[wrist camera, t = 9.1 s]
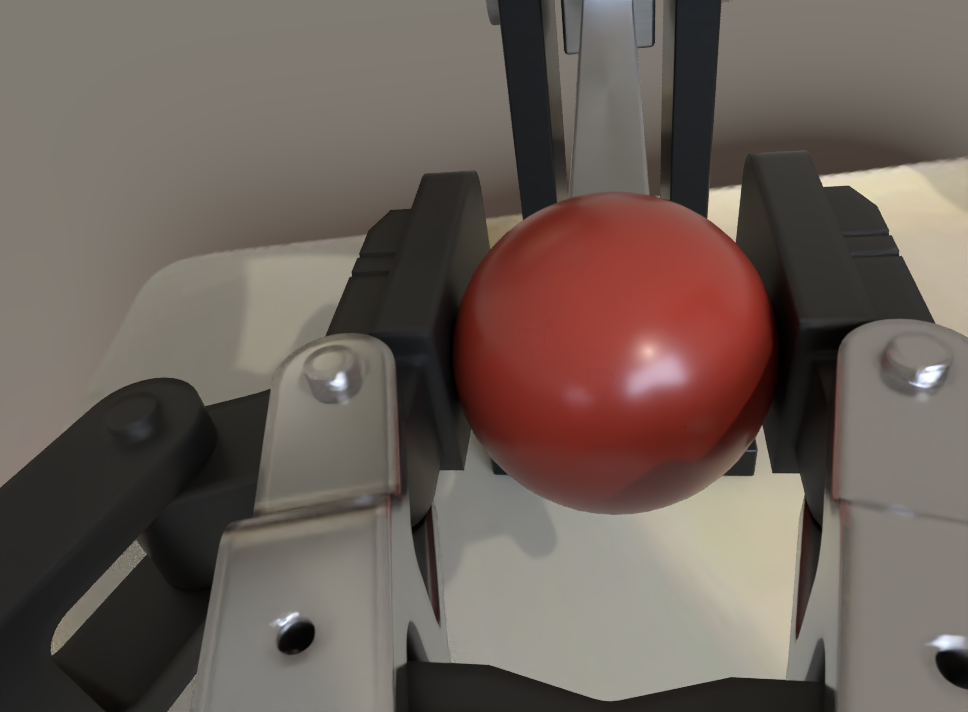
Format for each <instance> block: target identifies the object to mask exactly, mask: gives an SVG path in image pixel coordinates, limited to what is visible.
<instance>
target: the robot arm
mask: <svg viewBox="0 0 968 712" xmlns="http://www.w3.org/2000/svg"><path fill="white" fill-rule="evenodd" d="M736 244H737V245H738V246H739V247H740V249H741V250H742V251H743V252H744V254H745V255H746V256H747V257H748V259H749V260H750V261H751V263H752V264H753V266H754V267H755V269H756V271H757V272H758V274H759V276H760V278H761V280H762V282H763V283H764V285H765V287H766V290H767V292H768V295H769V298H770V301H771V304H772V307H773V310H774V313H775V316H776V323H777V329H778V337H779V346H780V350H779V367H778V380H777V383H776V387H775V391H774V395H773V399H772V402H771V406H770V409H769V411H768V414H767V416H766V418H765V420H764V422H763V424H762V425H763V429H764V434H765V439H766V444H767V449H768V454H769V459H770V463H771V468H772V473H800V476H801V480H802V484H803V488H804V492H805V495H804V500H803V504H802V508H801V512H800V517H799V526H798V540H797V553H796V567H795V580H794V593H793V607H792V620H791V633H790V646H789V657H788V666H787V673H786V680H775V679H755V678H736V677H730V678H725V679H721V680H716V681H711V682H706V683H701V684H697V685H692V686H687V687H682V688H677V689H673V690H668V691H663V692H658V693H653V694H648V695H644V696H639V697H634V698H629V699H624V700H619V701H601V700H597V699H593V698H590V697H586V696H583V695H580V694H577V693H574V692H571V691H568V690H565V689H562V688H559V687H556V686H552V685H549V684H546V683H543V682H540V681H537V680H534V679H531V678H528V677H525V676H521V675H518V674H515V673H512V672H509V671H506V670H503V669H500V668H497V667H494V666H490V665H479V664H459V663H451V657H450V651H449V644H448V636H447V624H446V613H445V601H444V589H443V577H442V566H441V554H440V542H439V530H438V518H437V511H436V506H435V503H434V495H435V490H436V485H437V480H438V475H439V470H464V467H465V461H466V455H467V449H468V443H469V437H470V432H471V427H470V425H469V423H468V420H467V418H466V416H465V414H464V412H463V409H462V406H461V403H460V400H459V396H458V392H457V389H456V385H455V379H454V371H453V359H452V349H453V335H454V327H455V322H456V318H457V313H458V309H459V306H460V303H461V300H462V298H463V295H464V293H465V290H466V288H467V285H468V283H469V281H470V279H471V278H472V276H473V274H474V272H475V271H476V269H477V268H478V266H479V264H480V263H481V261H482V260H483V258H484V257H485V256H486V255H487V253H488V252H489V251H490V246H489V239H488V232H487V226H486V219H485V212H484V205H483V199H482V193H481V186H480V181H479V177H478V174H477V172H476V171H459V172H443V173H428V174H424V175H423V177H422V179H421V183H420V185H419V188H418V191H417V194H416V197H415V199H414V202H413V205H412V208H411V209H402V210H390V211H389V212H388V213H387V214H386V215H385V216H384V217H383V218H382V219H381V220H380V221H378V222H377V223H376V224H375V225H374V226H373V227H372V228H371V229H370V230H369V231H368V233H367V236H366V238H365V241H364V243H363V246H362V248H361V250H360V253H359V255H360V258H357V260H356V263H355V265H354V268H353V270H352V277H349V280H348V282H347V285H346V287H345V290H344V292H343V294H342V297H341V299H340V302H339V304H338V307H337V309H336V312H335V314H334V316H333V319H332V321H331V324H330V326H329V329H328V331H327V334H326V336H325V337H323V338H320V339H317V340H314V341H312V342H310V343H308V344H306V345H304V346H302V347H301V348H299V349H297V350H296V351H295V352H293V353H292V354H291V355H289V356H288V357H287V358H286V359H285V360H284V361H283V362H282V364H281V365H280V366H279V368H278V369H277V371H276V373H275V375H274V377H273V380H272V384H271V389H268V390H266V391H263V392H259V393H256V394H252V395H248V396H245V397H241V398H237V399H233V400H229V401H225V402H221V403H217V404H213V405H209V406H204V404H203V402H202V400H201V398H200V396H199V394H198V392H197V391H196V390H195V388H194V387H193V386H191V385H190V384H189V383H187V382H185V381H182V380H179V379H175V378H153V379H148V380H143V381H140V382H136V383H133V384H130V385H128V386H126V387H123V388H121V389H119V390H117V391H115V392H113V393H111V394H110V395H108V396H107V397H105V398H104V399H102V400H101V401H100V402H98V403H97V404H96V405H95V406H93V407H92V408H91V409H90V410H89V411H88V412H86V413H85V414H84V415H83V416H82V417H81V418H80V419H78V420H77V421H76V422H75V423H74V424H73V425H72V426H70V427H69V428H68V429H67V430H66V431H65V432H64V433H62V434H61V435H60V436H59V437H58V438H57V439H56V440H54V441H53V442H52V443H51V444H50V445H49V446H48V447H47V448H45V449H44V450H43V451H42V452H41V453H40V454H39V455H37V456H36V457H35V458H34V459H33V460H32V461H30V462H29V463H28V464H27V465H26V466H25V467H24V468H22V469H21V470H20V471H19V472H18V473H17V474H16V475H15V476H13V477H12V478H11V479H10V480H9V481H8V482H6V483H5V484H4V485H3V486H2V487H1V488H0V712H167V711H168V710H169V709H170V707H171V706H172V705H173V703H174V702H175V701H176V699H177V698H178V697H179V696H180V694H181V693H182V692H183V690H184V689H185V688H186V686H187V685H188V684H189V683H190V681H191V680H192V679H193V677H194V676H195V675H196V673H197V675H196V681H195V686H194V692H193V698H192V703H191V709H190V712H968V338H967V337H966V336H964V335H962V334H960V333H958V332H956V331H954V330H952V329H949V328H946V327H943V326H941V325H938V324H935V322H934V320H933V318H932V316H931V314H930V312H929V310H928V308H927V306H926V304H925V302H924V300H923V298H922V296H921V294H920V292H919V290H918V287H917V285H916V283H915V281H914V279H913V277H912V275H911V273H910V271H909V269H908V267H907V265H906V263H905V261H904V259H903V257H902V256H899V249H898V247H897V245H896V243H895V241H894V239H893V237H892V235H891V236H889V229H888V227H887V225H886V223H885V221H884V219H883V217H882V215H881V213H880V211H879V209H878V207H877V206H876V205H875V204H874V203H872V202H871V201H869V200H868V199H867V198H865V197H864V196H863V195H861V194H860V193H858V192H857V191H856V190H854V189H853V188H852V187H850V186H834V187H823V186H822V183H821V181H820V178H819V176H818V174H817V171H816V169H815V166H814V164H813V162H812V159H811V157H810V155H809V153H808V151H806V150H804V151H788V152H772V153H756V154H748V155H747V157H746V160H745V164H744V169H743V178H742V188H741V198H740V207H739V217H738V226H737V236H736ZM135 540H137V541H138V543H139V544H140V546H141V547H142V548H143V550H144V551H145V552H146V554H147V555H146V556H145V557H144V558H143V559H142V560H141V561H140V563H139V564H138V565H137V566H136V567H135V568H134V569H133V570H132V571H131V572H130V574H129V575H128V576H127V577H126V578H125V579H124V580H123V581H122V582H121V583H120V584H119V586H118V587H117V588H116V589H115V590H114V591H113V592H112V593H111V594H110V595H109V596H108V598H107V599H106V600H105V601H104V602H103V603H102V604H101V605H100V606H99V607H98V609H97V610H96V611H95V612H94V613H93V614H92V615H91V616H90V617H89V618H88V619H87V621H86V622H85V623H84V624H83V625H82V626H81V627H80V628H79V629H78V630H77V631H76V633H75V634H74V635H73V636H72V637H71V638H70V639H69V640H68V641H67V642H66V643H65V645H64V646H63V647H62V648H61V649H60V650H59V651H58V652H56V653H55V654H54V655H53V656H51V641H52V637H53V635H54V632H55V630H56V628H57V626H58V624H59V622H60V621H61V619H62V618H63V617H64V616H65V614H66V613H67V612H68V611H69V610H70V609H71V608H72V607H73V606H74V604H75V603H76V602H77V601H78V600H79V599H80V598H81V597H82V596H83V595H84V594H85V593H86V592H87V591H88V590H89V589H90V587H91V586H92V585H93V584H94V583H95V582H96V581H97V580H98V579H99V578H100V577H101V576H102V575H103V574H104V573H105V571H106V570H107V569H108V568H109V567H110V566H111V565H112V564H113V563H114V562H115V561H116V560H117V559H118V558H119V557H120V556H121V554H122V553H123V552H124V551H125V550H126V549H127V548H128V547H129V546H130V545H131V544H132V543H133V542H134V541H135Z"/></svg>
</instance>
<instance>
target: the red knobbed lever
mask: <svg viewBox="0 0 968 712" xmlns="http://www.w3.org/2000/svg"><path fill="white" fill-rule="evenodd" d="M561 8H562V23H563V39H564V51H565V53H566V54H569V55H570V54H578V69H577V83H576V97H575V111H574V125H573V139H572V154H571V168H570V182H569V196H568V199H566V200H563V201H560V202H558V203H555V204H553V205H550V206H548V207H546V208H544V209H542V210H540V211H537V212H536V213H534V214H532V215H531V216H529V217H527V218H526V219H524V220H523V221H522V222H520V223H519V224H518V225H516V226H515V227H514V228H512V229H511V230H510V231H508V232H507V233H506V234H505V235H504V236H503V237H502V238H501V239H500V240H499V241H498V242H497V243H496V244H495V245H494V246H493V248H492V249H491V250H490V251H489V252H488V253H487V255H486V256H485V257H484V258H483V260H482V261H481V263H480V264H479V266H478V268H477V269H476V271H475V272H474V274H473V276H472V278H471V279H470V281H469V283H468V285H467V288H466V290H465V293H464V295H463V298H462V300H461V303H460V306H459V309H458V313H457V318H456V322H455V327H454V335H453V349H452V359H453V371H454V379H455V385H456V389H457V392H458V396H459V400H460V403H461V406H462V409H463V412H464V414H465V416H466V418H467V420H468V423H469V425H470V427H471V428H472V430H473V432H474V434H475V436H476V438H477V439H478V441H479V442H480V443H481V445H482V446H483V448H484V449H485V450H486V452H487V453H488V454H489V455H490V457H491V458H492V459H493V460H494V461H495V462H496V463H497V464H498V465H499V466H500V467H501V468H502V469H503V470H504V471H505V472H506V473H507V474H508V475H510V476H511V477H512V478H513V479H515V480H516V481H517V482H519V483H520V484H521V485H523V486H524V487H525V488H527V489H528V490H530V491H532V492H534V493H535V494H537V495H539V496H541V497H543V498H545V499H547V500H550V501H552V502H555V503H557V504H560V505H562V506H565V507H569V508H572V509H576V510H579V511H585V512H591V513H596V514H611V515H618V514H634V513H641V512H648V511H652V510H656V509H659V508H663V507H666V506H669V505H672V504H674V503H677V502H679V501H682V500H684V499H687V498H689V497H691V496H693V495H695V494H696V493H698V492H700V491H702V490H704V489H705V488H706V487H708V486H709V485H711V484H712V483H713V482H715V481H716V480H717V479H719V478H720V477H721V476H722V475H724V474H725V473H726V472H727V471H728V470H729V469H730V468H731V467H732V466H733V465H734V464H735V463H736V462H737V461H738V460H739V459H740V457H741V456H742V455H743V454H744V452H745V451H746V450H747V448H748V447H749V446H750V444H751V443H752V442H753V440H754V439H755V438H756V436H757V434H758V432H759V430H760V428H761V426H762V424H763V422H764V420H765V418H766V416H767V414H768V411H769V409H770V406H771V402H772V399H773V395H774V391H775V387H776V383H777V380H778V367H779V350H780V346H779V337H778V329H777V323H776V316H775V313H774V310H773V307H772V304H771V301H770V298H769V295H768V292H767V290H766V287H765V285H764V283H763V282H762V280H761V278H760V276H759V274H758V272H757V271H756V269H755V267H754V266H753V264H752V263H751V261H750V260H749V259H748V257H747V256H746V255H745V254H744V252H743V251H742V250H741V249H740V247H739V246H738V245H737V244H736V243H735V242H734V241H733V240H732V239H731V238H730V237H729V236H728V235H727V234H725V233H724V232H723V231H722V230H721V229H720V228H718V227H717V226H716V225H715V224H714V223H712V222H711V221H709V220H708V219H706V218H705V217H703V216H701V215H700V214H698V213H696V212H694V211H692V210H690V209H689V208H686V207H684V206H682V205H680V204H678V203H675V202H672V201H669V200H666V199H662V198H658V197H654V196H651V195H650V193H649V181H648V170H647V158H646V146H645V134H644V123H643V110H642V99H641V87H640V75H639V64H638V51H637V48H645V47H652V46H653V45H654V43H655V0H561Z"/></svg>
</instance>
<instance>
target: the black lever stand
mask: <svg viewBox="0 0 968 712" xmlns="http://www.w3.org/2000/svg"><path fill="white" fill-rule="evenodd" d="M730 1H731V0H664V7H663V9H664V10H663V64H662V120H661V175H660V198H662V199H666V200H669V201H672V202H675V203H678V204H680V205H682V206H684V207H686V208H689V209H690V210H692V211H694V212H696V213H698V214H700V215H701V216H703V217H705V218H706V219H707V215H708V200H709V184H710V169H711V168H710V167H711V153H712V137H713V122H714V107H715V91H716V74H717V61H718V60H717V59H718V44H719V29H720V14H721V2H730ZM486 4H487V11H488V16H489V20H490V22H491V24H492V25H500V26H501V35H502V43H503V52H504V60H505V69H506V78H507V86H508V95H509V104H510V112H511V121H512V130H513V138H514V147H515V155H516V164H517V173H518V181H519V189H520V198H521V207H522V216H523V220H524V219H526V218H527V217H529V216H531V215H532V214H534V213H536V212H537V211H540V210H542V209H544V208H546V207H548V206H550V205H553V204H555V203H558V202H560V201H563V200H566V199H568V187H567V172H566V159H565V144H564V130H563V115H562V101H561V87H560V72H559V58H558V44H557V30H556V16H555V1H554V0H486ZM757 451H758V450H757V445H756V440H755V439H754V440H753V442H752V443H751V444H750V446H749V447H748V448H747V450H746V451H745V452H744V454H743V455H742V456H741V457H740V459H739V460H738V461H737V462H736V463H735V464H734V465H733V466H732V467H731V468H730V469H729V470H728V471H727V472H726V473H725V474H724V475H722V476H752V475H754V471H755V464H756V457H757ZM490 458H491V457H490ZM491 463H492V468H493V472H494V474H496V475H508V474H507V473H506V472H505V471H504V470H503V469H502V468H501V467H500V466H499V465H498V464H497V463H496V462H495V461H494V460H493V459H492V458H491Z"/></svg>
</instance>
